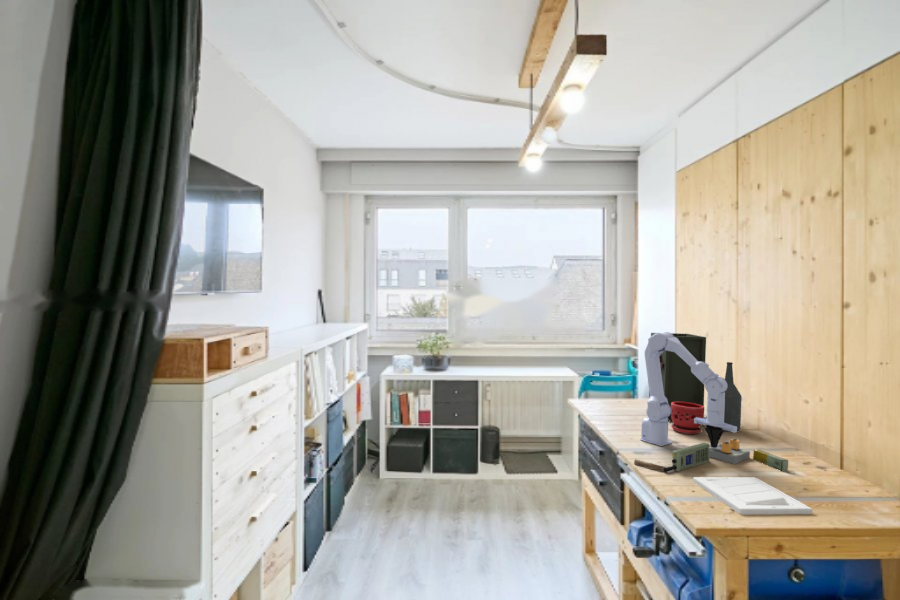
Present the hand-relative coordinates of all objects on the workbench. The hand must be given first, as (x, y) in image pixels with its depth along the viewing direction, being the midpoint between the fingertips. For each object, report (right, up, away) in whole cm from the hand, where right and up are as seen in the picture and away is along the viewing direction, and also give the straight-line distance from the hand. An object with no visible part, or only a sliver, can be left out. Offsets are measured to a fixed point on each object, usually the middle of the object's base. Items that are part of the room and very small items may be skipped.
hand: (714, 446), depth 179 cm
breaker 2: (+8, -1, +1) cm, 8 cm away
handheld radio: (-16, -4, -12) cm, 20 cm away
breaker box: (+4, -4, 0) cm, 5 cm away
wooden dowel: (-29, -2, -13) cm, 32 cm away
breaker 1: (+3, -1, -4) cm, 4 cm away
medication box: (+15, -4, -8) cm, 18 cm away
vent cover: (-9, -5, -36) cm, 37 cm away
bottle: (+26, -4, +38) cm, 46 cm away
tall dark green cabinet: (+12, -3, +58) cm, 60 cm away
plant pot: (+6, -3, +32) cm, 33 cm away
